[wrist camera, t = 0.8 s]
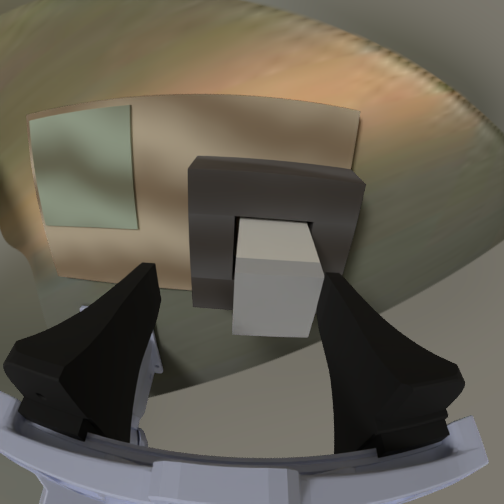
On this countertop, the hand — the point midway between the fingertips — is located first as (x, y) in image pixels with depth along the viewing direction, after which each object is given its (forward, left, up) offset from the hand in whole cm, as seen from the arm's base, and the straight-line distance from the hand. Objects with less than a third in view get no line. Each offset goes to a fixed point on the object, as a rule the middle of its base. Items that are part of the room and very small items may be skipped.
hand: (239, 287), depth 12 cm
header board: (0, +5, -10) cm, 11 cm away
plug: (-2, -2, -9) cm, 9 cm away
